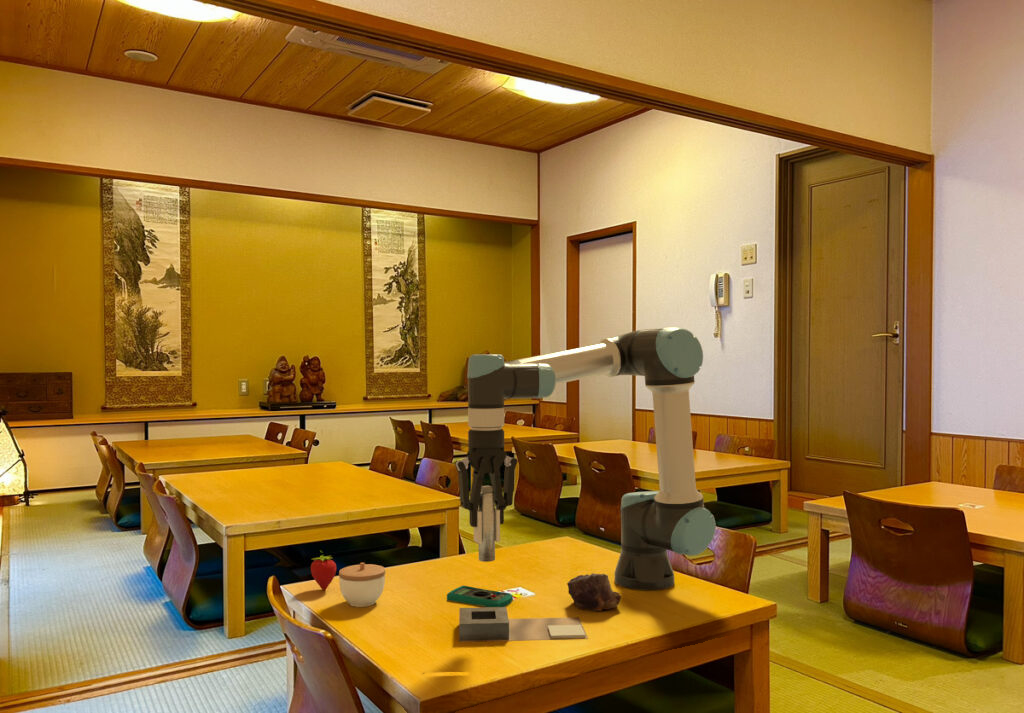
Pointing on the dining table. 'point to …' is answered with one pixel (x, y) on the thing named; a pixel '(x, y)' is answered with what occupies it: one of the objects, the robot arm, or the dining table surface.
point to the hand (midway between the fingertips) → (486, 541)
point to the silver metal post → (487, 524)
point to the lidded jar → (362, 584)
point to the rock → (593, 592)
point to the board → (536, 628)
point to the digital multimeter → (480, 597)
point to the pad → (566, 631)
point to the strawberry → (323, 571)
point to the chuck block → (483, 624)
